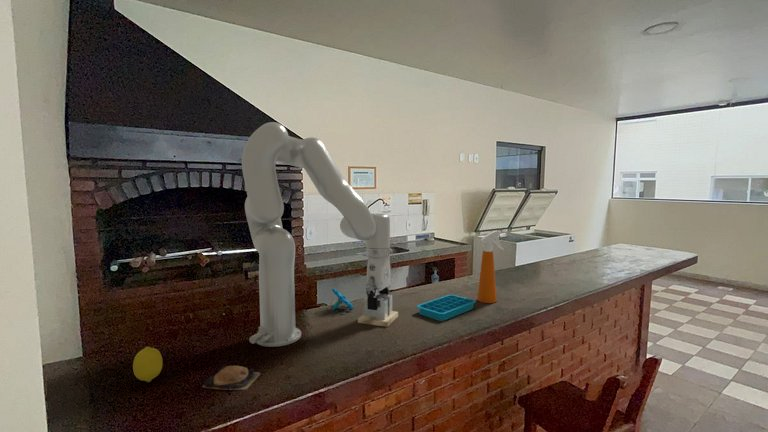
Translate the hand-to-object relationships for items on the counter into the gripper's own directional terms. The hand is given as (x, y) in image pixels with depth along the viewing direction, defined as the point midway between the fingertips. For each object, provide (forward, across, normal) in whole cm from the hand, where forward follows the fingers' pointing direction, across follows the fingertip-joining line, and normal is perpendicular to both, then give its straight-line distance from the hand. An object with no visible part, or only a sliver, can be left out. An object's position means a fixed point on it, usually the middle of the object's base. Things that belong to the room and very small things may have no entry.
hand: (378, 304), depth 121 cm
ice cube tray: (+5, +16, -19) cm, 25 cm away
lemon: (+5, -54, +33) cm, 63 cm away
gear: (+5, +6, +16) cm, 18 cm away
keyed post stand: (+5, 0, 0) cm, 5 cm away
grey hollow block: (+3, 0, 0) cm, 3 cm away
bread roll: (+6, -47, +16) cm, 50 cm away
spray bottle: (+5, +34, -32) cm, 47 cm away
